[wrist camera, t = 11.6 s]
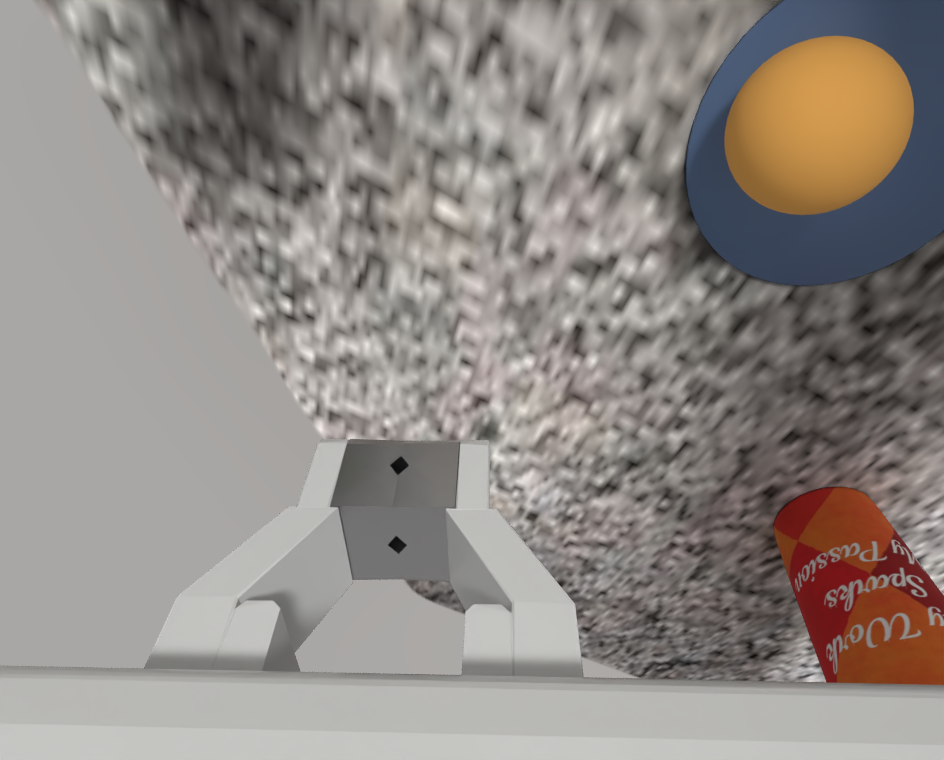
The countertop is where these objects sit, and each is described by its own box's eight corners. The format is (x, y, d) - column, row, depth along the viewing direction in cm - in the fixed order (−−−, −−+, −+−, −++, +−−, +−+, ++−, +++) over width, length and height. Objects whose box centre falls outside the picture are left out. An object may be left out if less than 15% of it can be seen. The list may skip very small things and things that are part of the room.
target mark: (1101, -51, 22) (1106, -51, 22) (942, 283, 30) (944, 285, 30) (722, -45, 23) (724, -45, 22) (662, 283, 30) (663, 285, 30)
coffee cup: (894, 457, 37) (1089, 729, 25) (895, 545, 41) (1061, 811, 29) (743, 492, 39) (854, 758, 27) (759, 572, 43) (862, 831, 31)
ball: (910, 38, 18) (694, 90, 22) (909, 233, 21) (719, 250, 25) (918, -7, 22) (733, 43, 25) (916, 163, 25) (751, 186, 28)
